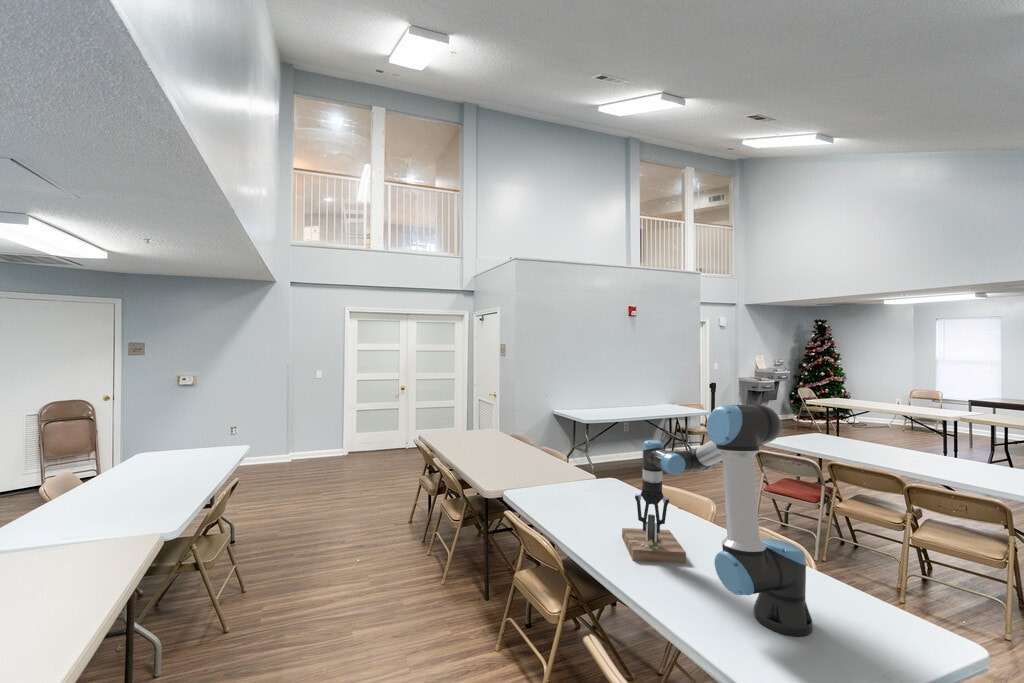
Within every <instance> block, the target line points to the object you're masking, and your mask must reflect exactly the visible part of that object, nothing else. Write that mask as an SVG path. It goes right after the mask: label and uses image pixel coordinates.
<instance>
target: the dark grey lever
mask: <svg viewBox="0 0 1024 683" xmlns="http://www.w3.org/2000/svg"><path fill="white" fill-rule="evenodd" d="M647 522H648V540H649V544H651V545H652V543H653V541H655V523H656V514H655V515H654V514H651V513H650V514H647ZM658 536H659V535H658V533H657V541H658Z"/></svg>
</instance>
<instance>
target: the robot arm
mask: <svg viewBox="0 0 1024 683" xmlns="http://www.w3.org/2000/svg"><path fill="white" fill-rule="evenodd" d="M782 426H783V425H782V420H781V418H780V416H779V414H778V413H777V412H776V411H775V410H774V409H772V408H771V407H769V406H766V405H763V404H726V405H719V406H717V407H715V408H714V409H713V410H711V412H710V413H709V415H708V417H707V420H706V432H707V435H708V437H709V439H710V440H709V441H707V442H705V443H704V444H702V445H699V446H698V447H696V448H695V449H689V450H672V451H671V450H666V449H664V444H663V442H662V441H660V440H654V439H650V440H649V439H648V440H644V442H643V444H642V445H643V446H642V447H643V448H642V481H641V482H642V483H641V484H642V485H641V486H642V488H641V492H640V493H639V494H638V493H636V494H635V495H634V498H635V501H636V509H637V519H638V520H637V521H639V522H641V523H642V529H643V531H646V541H648V515H649V514H648V513H649V506H650V505H654V510H655V542H657V533H660V530H661V525H665V523H666V516H667V511H668V505H669V503H670V498H669V497H666V496H664V494H663V472H664V473H667V474H671V475H674V476H677V475H680V474H682V473H683V472H691V471H706V470H711V469H712V468H713V467H714V466H715V464H717V463H718V462H721V461H722V468H723V469H722V471H723V472H722V473H723V485H724V490H723V491H724V500H725V501H724V504H725V519H726V537H724V538H723V540H722V541H721V547H722V550H721V551H719V552H717V553H716V555H715V556H714V569H715V573H716V575H717V577H718V579H719V580H720V582H721V584H722V586H723V587H724V588H725V589H726V590H727V591H729V592H730V593H732V594H733V595H735V596H753V595H756V594H758V595H757V598H756V600H755V601H754V602H755V603H754V605H753V616H754V618H755V619H756V621H757V622H759V623H760V624H761V625H763V626H764V627H766V628H768V629H769V630H772V631H773V632H777V633H779V634H782V635H787V636H791V637H805V636H808V635H811V633H812V632H813V620H812V616H811V613H810V611H809V607H808V605H807V600H806V592H807V591H806V590H807V589H806V586H807V585H806V579H807V575H806V574H807V571H806V570H807V562H806V553H805V552H804V550H803V549H802V548H800V547H799V546H797V545H795V544H792V543H791V542H787V541H784V540H781V539H776V538H770V537H768V538H767V537H765V538H762V539H761V538H760V526H759V525H760V524H759V511H758V498H757V494H758V493H757V482H756V470H755V469H756V468H755V455H757V454H758V453H759V452H760V447H761V446H763V445H765V444H768V443H771V442H773V441H774V440H776V439H777V438H778V437H779V436H780V435H781V431H782ZM642 499H643V500H644V502H645V505H644V512H643V516H642V508H641V507H642V506H641V500H642ZM661 501H662V502H663V506H662V507H663V509H662V514H661V515H662V516H661V517H660V510H659V504H660V502H661Z"/></svg>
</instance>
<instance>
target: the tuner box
mask: <svg viewBox="0 0 1024 683" xmlns="http://www.w3.org/2000/svg"><path fill="white" fill-rule="evenodd" d="M658 535H659V536H658V541H657V542H655V541H653V543H652V545H651V544H649V540H648V541H646V531H643V528H633V527H630V528H629V527H622V528H621V538H622V540H623V542H624V545H625V548H626V549H627V551H628V553H629V555H630V558H631V559H632V561H635V562H636V561H637V562H655V563H656V562H658V563H659V562H660V563H681V564H683V563H684V564H686V562H687V561H686V560H687V558H686V554H687V552H686V551H685V549H684V548H683V546H682V545H681V543H680V542H679V541H678V540H677V539H676V537H675V536H674V534H673V533H672V532H671V531H670V530H669V529H660V533H658Z"/></svg>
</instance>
